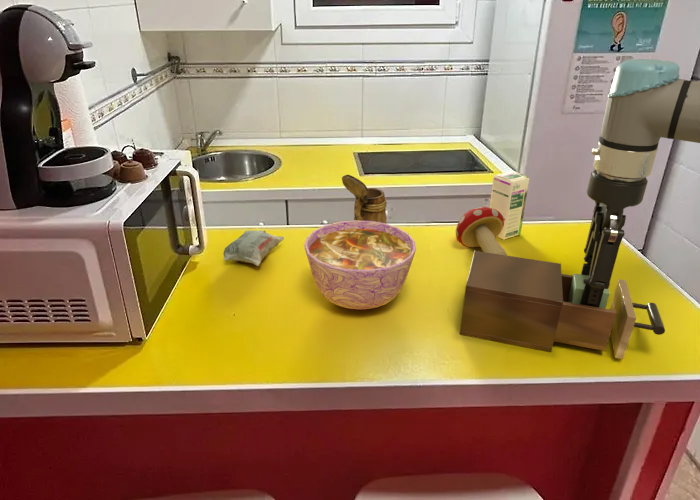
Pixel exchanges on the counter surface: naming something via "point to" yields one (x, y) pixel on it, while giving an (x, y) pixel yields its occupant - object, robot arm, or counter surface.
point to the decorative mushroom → (481, 229)
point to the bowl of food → (359, 262)
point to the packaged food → (251, 247)
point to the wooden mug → (366, 200)
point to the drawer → (603, 320)
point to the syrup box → (510, 201)
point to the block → (578, 289)
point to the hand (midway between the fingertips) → (585, 307)
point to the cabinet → (512, 300)
